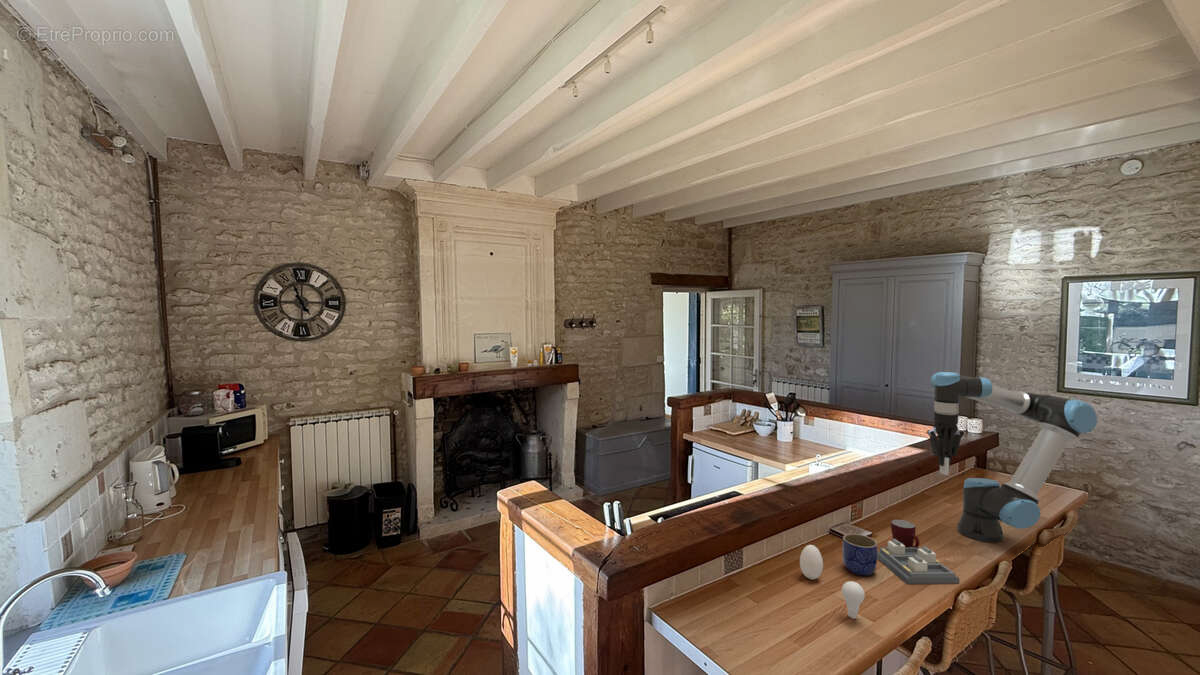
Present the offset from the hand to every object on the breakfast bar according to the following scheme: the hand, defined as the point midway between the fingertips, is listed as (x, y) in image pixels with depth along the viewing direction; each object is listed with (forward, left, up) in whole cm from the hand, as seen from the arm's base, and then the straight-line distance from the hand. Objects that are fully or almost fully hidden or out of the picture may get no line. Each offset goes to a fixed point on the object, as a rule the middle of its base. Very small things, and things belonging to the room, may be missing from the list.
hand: (944, 473), depth 186 cm
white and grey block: (+22, +19, -28) cm, 41 cm away
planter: (+39, +13, -31) cm, 52 cm away
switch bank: (+19, +13, -30) cm, 38 cm away
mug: (+13, -1, -31) cm, 33 cm away
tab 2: (+15, +13, -28) cm, 35 cm away
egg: (+59, +18, -31) cm, 69 cm away
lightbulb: (+56, +40, -31) cm, 76 cm away
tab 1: (+22, +7, -28) cm, 37 cm away
